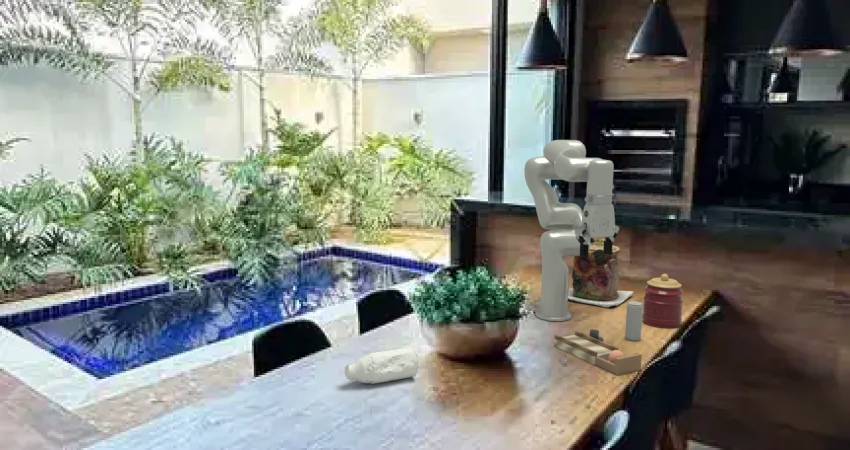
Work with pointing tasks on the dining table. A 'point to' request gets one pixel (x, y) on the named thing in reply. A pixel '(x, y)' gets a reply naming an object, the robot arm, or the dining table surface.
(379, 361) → the white bottle
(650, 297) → the canister
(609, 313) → the dining table surface
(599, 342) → the lane
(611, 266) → the cookie jar
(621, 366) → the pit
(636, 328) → the beverage can
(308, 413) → the dining table surface
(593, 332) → the tee
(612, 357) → the ball
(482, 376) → the dining table surface
